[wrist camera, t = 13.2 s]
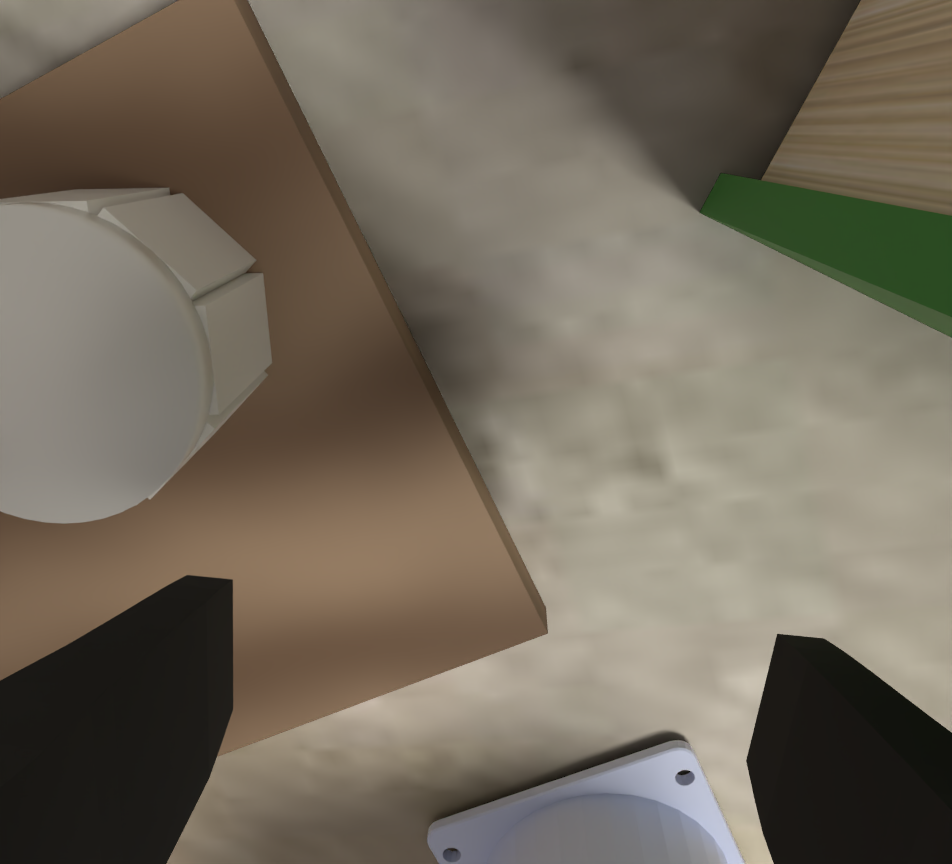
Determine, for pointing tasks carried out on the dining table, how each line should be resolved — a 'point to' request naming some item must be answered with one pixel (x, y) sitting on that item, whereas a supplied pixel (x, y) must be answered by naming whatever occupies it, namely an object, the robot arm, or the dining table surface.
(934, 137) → the hardback book
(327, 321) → the brown tray
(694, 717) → the dining table surface
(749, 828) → the dining table surface
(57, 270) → the cap
